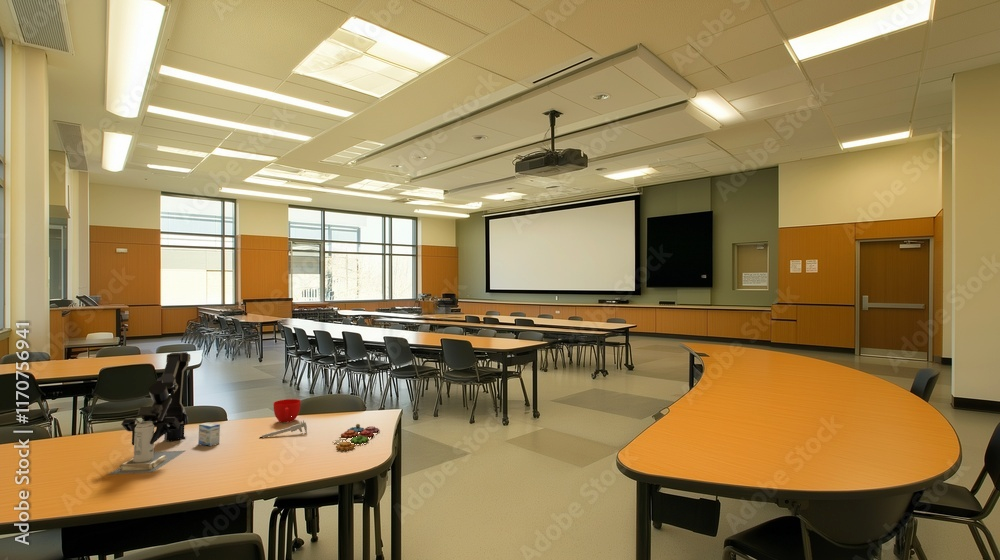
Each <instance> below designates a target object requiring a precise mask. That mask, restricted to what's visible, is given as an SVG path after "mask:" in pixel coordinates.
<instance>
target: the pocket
mask: <svg viewBox="0 0 1000 560" xmlns="http://www.w3.org/2000/svg"><path fill="white" fill-rule="evenodd" d="M164 461H166V455H164V456H161V457H160V458H158V459H156V460H155V461H153V462H152V463H138V464H135V462H134V457H132V458H131V459H128V460H127V461H124V462H123V463H121V464H119V468H120V471H123V470H143V469H153V468H155V467H156V466H158V465H159V464H161V463H162V462H164Z"/></svg>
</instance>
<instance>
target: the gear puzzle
mask: <svg viewBox="0 0 1000 560" xmlns="http://www.w3.org/2000/svg"><path fill="white" fill-rule="evenodd" d="M379 430H380V428H378V427H375V426H374V425H373V426H372V425H371V426H370V425H369V426H367V427H365V428H364V427H362V426H361V425H360V423H356V424H355V426H354V427H353V426H352V427H350V428H348V429H347V430H346V431H344V432H342V433H341V434H340V436H341V437H340V438H338V439H339V440H338V439H335V441H336V442H335V443H334V444H333V445H335V444H337V443H339V444H338V445H336V446H335V449H336V451H337V450H340V451H344V450H345V451H348V450H353V449H355V448H356V446H355V444H356V445H357V444H362V443H363V444H364V443H366V444H367V442H366V441H369V439H368V437H369V438H370V437H372V436H374V434H373V433H377V434H378V432H377V431H379ZM358 432H360V433H359V434H358ZM379 432H380V431H379ZM356 436H357V437H356ZM352 437H353V438H352ZM374 437H375V436H374ZM341 438H346V439H341ZM348 438H352V439H351V440H350V441H351V443H354V444H351V443H350V442H347V441H346V440H347V439H348ZM372 438H373V437H372ZM341 440H342V442H340V441H341ZM343 440H345V441H346V442H343ZM354 447H355V448H354Z"/></svg>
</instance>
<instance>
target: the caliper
mask: <svg viewBox="0 0 1000 560" xmlns="http://www.w3.org/2000/svg"><path fill="white" fill-rule="evenodd" d="M303 428H304V432H306V433H307V432H308V431H307V430H308V426H307V422H306V421H305V420H302V421H301V420H300V423H297V424H294V425H290V426H289V427H286V428H282V429H280V430H276V431H271V432H268V433H265V434H261V436H259V437H258V439H261V438H260V437H267V438H269V437H268V436H270V437H274V436H277V435H280V434H283V433H287V432H291V433H293V432H296V431H297V430H298V431H299V433H301V432H303Z"/></svg>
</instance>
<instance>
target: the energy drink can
mask: <svg viewBox="0 0 1000 560" xmlns="http://www.w3.org/2000/svg"><path fill="white" fill-rule="evenodd" d="M142 421H143V422H139V423H137V426H136V427H135V436H134V445H133V458H134V462H135V463H136V464H138V463H148V462H150V461H151V460H152V459H153V452H155V450H154V449H155V448H154V446H155V442H154V443H153V444H150V442H151V439H152V437H153V435H154V433H155V426H154V424H153V423H152V421H144V420H142Z"/></svg>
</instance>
